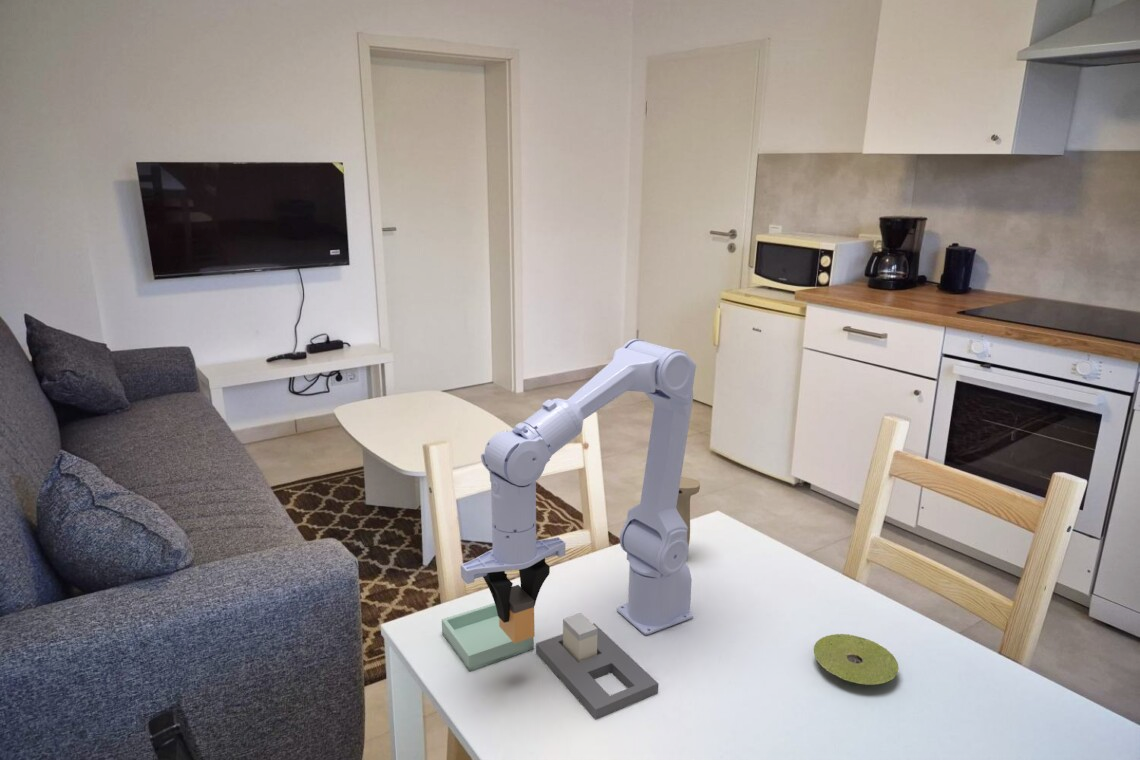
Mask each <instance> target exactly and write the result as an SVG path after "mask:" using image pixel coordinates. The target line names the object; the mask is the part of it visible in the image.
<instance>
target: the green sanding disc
mask: <svg viewBox="0 0 1140 760" xmlns="http://www.w3.org/2000/svg"><path fill="white" fill-rule="evenodd" d="M813 654H814V657H815V659H816V661H817V662H818V663H819V665H820V666H821V667H822V668H823V669H825V670H826V672H829V673H830V674H832V675H834V676H836V677H838V678H840V679H842V680H844V681H848V682H849V683H855V684H860V685H866V686H867V685H869V686H870V685H871V686H872V685H881V684H885V683H888V682H889V681H892V680H894V678H895V677H897V675H898V673H899V670H900V669H899V662H898V660H897V658H896V657H895V656H894V654H892V652H890V651H889V650H888V649H887V648H886V647H884V646H883V645H880V644H879V643H877V642H875V641H872V640H871V639H868V638H864V637H861V636H857V635H852V634H847V633H846V634H844V633H840V634H839V633H835V634H830V635H826V636H823V637H821V638H819V639H818V640H817V641H816V642H815V644H813Z"/></svg>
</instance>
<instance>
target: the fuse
mask: <svg viewBox="0 0 1140 760" xmlns="http://www.w3.org/2000/svg"><path fill="white" fill-rule="evenodd" d="M597 629H598V628H597V627H595V626H594V625H593V622H591V621H590V620H589V619H588V618H587V616H585V615H584V614H582V613H581V612H579V613H576V614H572V615H570V616H567V617H564V618H563V619H562V634H563V647H564V648H565V649H566V650H567V651H568V652H569V653H570V654H571V656H572V657H573V658H574V659H575V660H576V661H577V662H580V661H583V660H585V659H588V658H591V657H593V656H596V655H597Z"/></svg>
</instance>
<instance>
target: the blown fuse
mask: <svg viewBox="0 0 1140 760" xmlns="http://www.w3.org/2000/svg"><path fill="white" fill-rule="evenodd" d="M509 608H510V617H509V621H508V622H505V623H504V622H503V621H502V620H501V619H500V618H499V627H500V628H501V629H502V630H503V631H504V632H505V633H506V635H507V636H508V637H509V638H510V639H511V640H512V641H513V643H514V644H515V643H518V642H520V641H523V640H526V639H529V638H532V637H534V638H535V606H534V600H533V599H532V598H531V597H530V596H529V595H528V594H527V593H526V592H525V591H524V590H523V589H522V588H521V585H519V584H516V585H512V588H511V592H510V600H509Z"/></svg>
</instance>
